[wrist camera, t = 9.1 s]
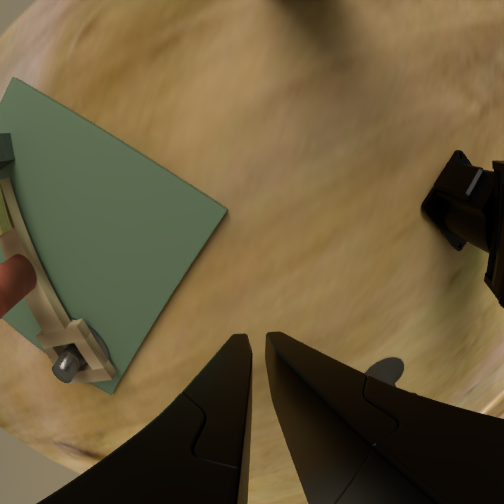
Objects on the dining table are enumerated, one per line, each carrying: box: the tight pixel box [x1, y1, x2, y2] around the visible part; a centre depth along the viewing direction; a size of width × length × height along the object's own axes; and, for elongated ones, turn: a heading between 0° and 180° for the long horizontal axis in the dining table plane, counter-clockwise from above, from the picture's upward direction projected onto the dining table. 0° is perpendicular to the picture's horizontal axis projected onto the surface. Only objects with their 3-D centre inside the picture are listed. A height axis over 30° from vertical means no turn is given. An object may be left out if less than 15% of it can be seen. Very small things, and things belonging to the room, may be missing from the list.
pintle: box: [52, 317, 110, 383], centre depth 20 cm, size 6×6×5 cm
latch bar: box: [0, 178, 116, 384], centre depth 15 cm, size 19×6×9 cm, turn 17°
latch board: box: [0, 77, 227, 395], centre depth 19 cm, size 22×22×1 cm
